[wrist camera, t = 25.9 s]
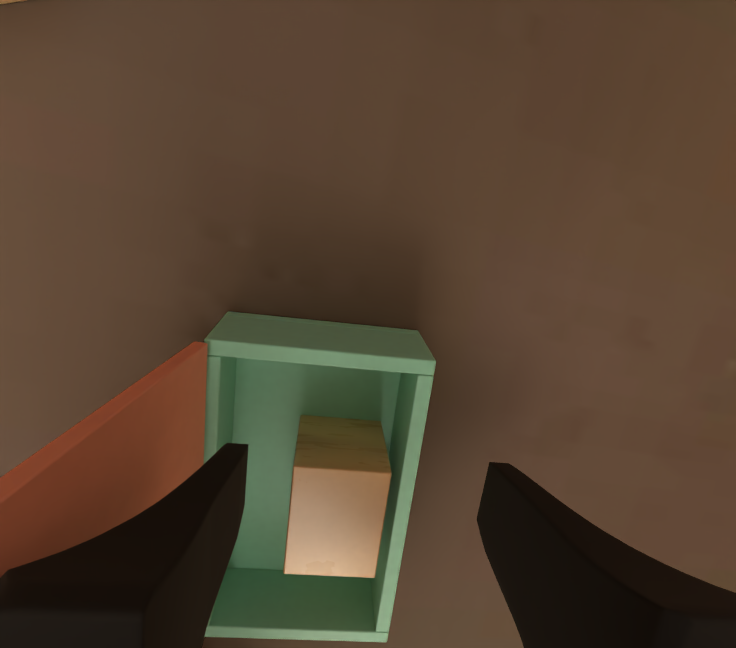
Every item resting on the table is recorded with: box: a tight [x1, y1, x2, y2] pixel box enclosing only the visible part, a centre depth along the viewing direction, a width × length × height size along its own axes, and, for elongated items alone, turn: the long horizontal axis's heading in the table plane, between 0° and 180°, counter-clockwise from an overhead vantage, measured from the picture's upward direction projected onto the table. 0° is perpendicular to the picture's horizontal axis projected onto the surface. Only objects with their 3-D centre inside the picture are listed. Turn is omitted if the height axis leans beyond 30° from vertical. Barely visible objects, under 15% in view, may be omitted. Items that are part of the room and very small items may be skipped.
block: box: [283, 415, 392, 578], centre depth 20 cm, size 5×4×4 cm
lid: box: [0, 342, 208, 578], centre depth 13 cm, size 9×13×4 cm
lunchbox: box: [204, 311, 436, 642], centre depth 20 cm, size 8×13×4 cm, turn 173°
